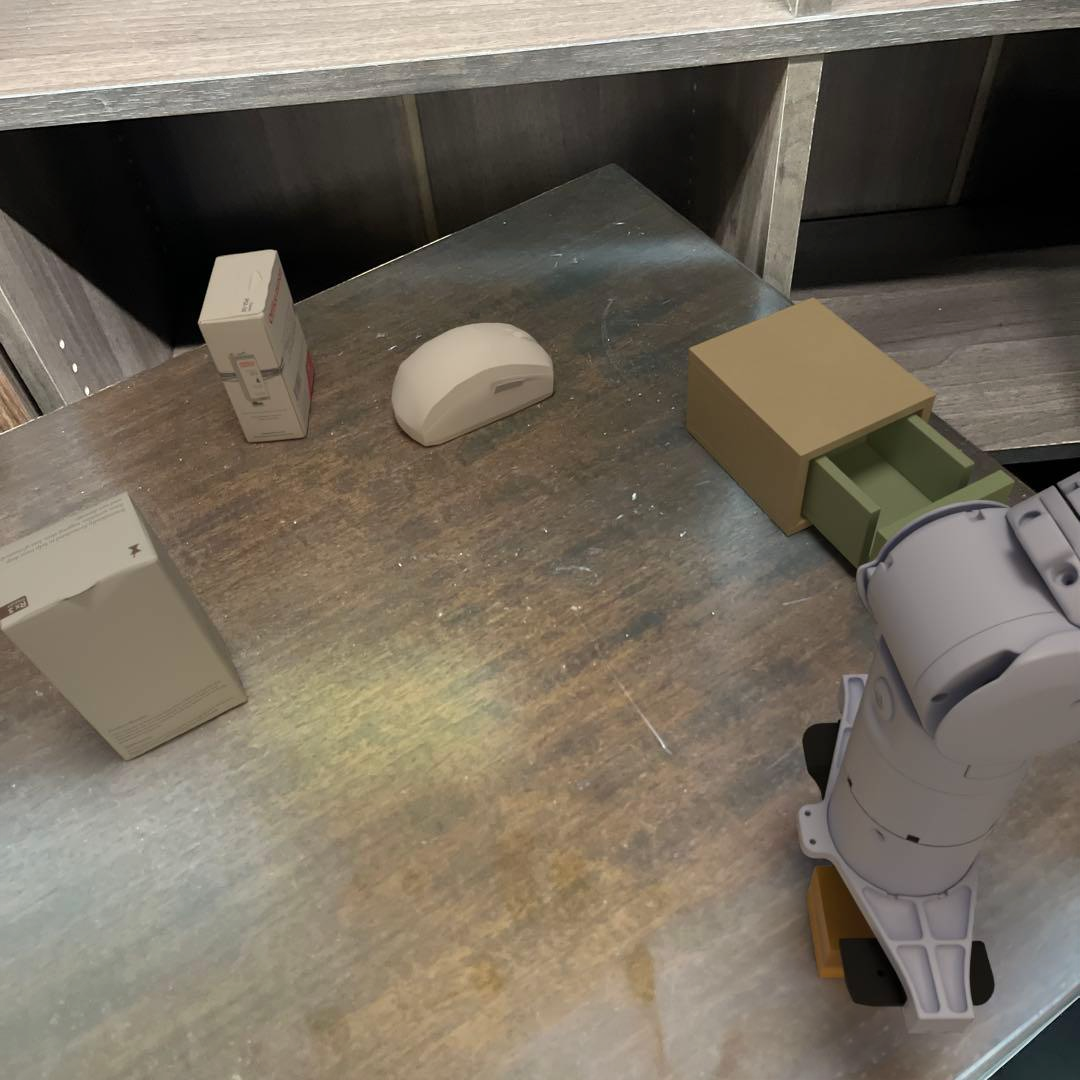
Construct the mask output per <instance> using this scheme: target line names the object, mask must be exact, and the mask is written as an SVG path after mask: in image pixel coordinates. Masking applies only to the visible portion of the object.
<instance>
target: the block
mask: <svg viewBox="0 0 1080 1080" xmlns="http://www.w3.org/2000/svg"><path fill="white" fill-rule="evenodd" d="M805 901H806V907H807V912H808V918H809V925H810V932H811V938H812V944H813V950H814V955H815V956H814V957H815V962H816V968H817V974H818V977H819V978H820V979H840V978H841V979H845V977H844V971H843V966H842V960H841V955H840V949H839V943H838V941H839V939H840V938H876V936H875V935H874V933H873V931H872V929H871V928H870V926H869V924H868V922H867V921H866V919H865V917H864V915H863V914H862V912H861V910H860V909H859V907H858V905H857V903H856V902H855V900H854V898H853V896H852V895H851V893H850V891H849V889H848V888H847V886H846V884H845V882H844V881H843V879H842V877H841V876H840V874H839V872H838V870H837V869H836V867H835V865H816V866H815V867H814V870H813V873H812V876H811V880H810V883H809V886H808V889H807V892H806V896H805Z"/></svg>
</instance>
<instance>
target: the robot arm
mask: <svg viewBox="0 0 1080 1080" xmlns="http://www.w3.org/2000/svg"><path fill="white" fill-rule="evenodd" d="M1056 486H1057V488H1058V489H1057V488H1056ZM1056 486H1054V485H1051V486H1049V487H1048V488H1045V489H1043V490H1042V491H1040V492H1038V493H1036V494H1034V495H1032V496H1030V497H1028V498H1025V499H1024V500H1022V501H1019V502H1018V503H1017V504H1015V505H1013V506H1012V507H1010V506H1009V505H1007V504H1006V505H1005V504H1002V503H999V502H995V501H988V500H971V501H967V502H958V503H953V504H949V505H946V506H943V507H940V508H937V509H934V510H932V511H930V512H927V513H925V514H923V515H921V516H919V517H918V518H916V519H914V520H913V521H911V522H909V523H908V524H906V525H905V526H904V527H902V528H901V529H900V530H898V531H897V532H896V533H895V534H894V535H893V536H892V537H891V538H890V539H889V540H888V541H887V542H886V543H885V545H884V546H883V547H882V549H881V550H880V552H879V554H878V556H877V557H876V559H874V560H873V561H872V562H869V563H866V564H864V565H861V566H860V567H859V568H858V569H857V568H856V569H857V570H856V573H855V574H856V575H855V584H856V589H857V592H858V594H859V596H860V599H861V601H862V603H863V605H864V606H865V607H864V608H866V610H867V611H868V612H869V613H870V614H871V615H872V616H874V619H875V620H876V622H877V624H876V628H875V631H874V635H873V636H874V639H875V641H876V643H877V645H876V647H875V652H874V655H873V658H872V661H871V665H870V667H869V672H868V673H848V674H847V673H846V674H842V675H841V680H840V682H839V686H838V690H837V694H836V702H837V706H838V707H837V708H838V711H839V713H840V714H841V717H840V718H839V719H837V722H818V723H814V724H812V725H810V726H808V727H807V728H806V729H805V730H804V732H803V735H802V738H801V745H802V750H803V754H804V760H805V766H806V771H807V773H808V775H809V776H810V777H811V779H812V780H813V781H814V782H815V784H816V786H817V788H818V789H819V791H820V795H821V796H820V797H821V801H819V802H817V803H806V804H803V805H801V806H800V807H799V808H798V810H797V814H796V820H795V822H796V828H797V835H798V841H799V845H800V849H801V851H802V853H803V854H804V855H805V856H807V857H808V858H811V859H826V860H828V861H830V862H831V863H832V864H833V866H835V867H836V869H837V870H838V872H839V874H840V876H841V877H842V879H843V881H844V882H845V884H846V886H847V888H848V889H849V891H850V893H851V895H852V896H853V898H854V900H855V902H856V903H857V905H858V907H859V909H860V910H861V912H862V914H863V915H864V917H865V919H866V921H867V922H868V924H869V926H870V928H871V929H872V931H873V933H874V935H875V936H876V938H840V939H839V941H838V943H839V949H840V955H841V960H842V966H843V971H844V977H845V978H844V982H845V986H846V988H847V991H848V994H849V996H850V999H851V1000H852V1002H853V1003H854V1004H856V1005H860V1006H864V1007H870V1008H871V1007H872V1008H890V1007H891V1008H894V1007H895V1008H896V1007H897V1008H898V1007H900V1008H902V1011H903V1017H904V1021H905V1025H906V1026H905V1027H906V1031H907V1033H909V1034H930V1035H931V1034H932V1035H933V1034H962V1033H964V1031H965V1030H966V1029H967V1028H968V1027H969V1025H971V1023H972V1022H973V1021H974V1020H975V1019H976V1013H975V1008H974V1007H977V1006H983V1005H985V1004H987V1002H989V1000H990V999H991V998H992V996H993V994H994V992H995V987H996V984H995V983H996V982H995V977H994V972H993V969H992V965H991V962H990V957H989V955H988V950H987V947H986V944H985V942H984V941H982V940H973V937H974V925H975V917H976V904H977V898H978V897H977V895H978V885H979V875H980V866H981V855H982V848H983V846H984V844H986V841H987V840H988V838H989V837H990V835H991V834H992V832H993V831H994V829H995V827H996V825H997V824H998V822H999V820H1000V819H1001V817H1002V816H1003V814H1004V812H1005V810H1006V809H1007V807H1008V806H1009V804H1010V802H1011V801H1012V798H1013V797H1014V795H1015V793H1017V791H1018V789H1019V787H1020V786H1021V784H1022V782H1023V781H1024V780H1025V777H1026V776H1027V774H1028V772H1029V771H1030V769H1031V768H1032V766H1033V765H1034V763H1035V761H1036V759H1037V758H1038V757H1041V756H1044V755H1046V754H1050V753H1053V752H1055V751H1058V750H1060V749H1063V748H1065V747H1068V746H1072V745H1074V744H1077V743H1079V742H1080V471H1077V472H1076V473H1073V474H1072V475H1070V476H1067V477H1066V478H1064V479H1062V480H1060V481H1058V482H1057V483H1056ZM1059 491H1060V492H1059Z"/></svg>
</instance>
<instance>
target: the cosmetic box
mask: <svg viewBox="0 0 1080 1080" xmlns="http://www.w3.org/2000/svg"><path fill="white" fill-rule="evenodd" d="M0 630H1V631H2V633H3V634H4V635H5V636H6V637H7V638H8V639H9V641H11V642H12V643H13V644H14V645H15V646H16V647H17V648H18V649H19V650H20V652H21V653H22V654H23V655H24V656H25V657H26V658H27V659H28V660H29V661H30V662H31V663H32V664H33V666H35V667H36V668H37V670H39V671H40V672H41V674H42V675H43V676H45V678H46V679H47V680H48V681H49V682H50V683H51V684H52V685H53V686H54V687H55V688H56V690H57V691H58V692H59V693H60V694H61V695H62V696H63V697H64V698H65V699H66V700H67V701H68V702H69V703H70V704H71V705H72V706H73V708H75V710H77V712H79V713H80V714H81V716H82V717H83V718H84V719H85V720H86V721H87V722H88V723H89V724H90V726H92V727H93V728H94V729H95V730H96V731H97V732H98V733H99V734H100V735H101V737H102V738H104V740H105V741H106V742H107V743H108V744H109V745H110V746H111V747H112V748H113V750H115V751H116V753H118V754H119V755H120V757H121V758H122V759H123V760H124V761H125V762H128V761H130V760H133V759H134V758H135V759H136V758H137V757H139V756H141V755H142V754H144V753H147V752H149V751H150V750H152V749H154V748H156V747H158V746H161V745H162V744H163V743H166V742H167V741H170V740H172V739H174V738H176V737H177V736H180V735H182V734H184V733H186V732H188V731H190V730H192V729H194V728H195V727H198V726H200V725H202V724H203V723H206V722H208V721H209V720H212V719H213V718H215V717H217V716H219V715H221V714H223V713H225V712H227V711H229V710H230V709H232V708H235V707H236V706H239V705H241V704H243V703H245V702H247V701H248V696H247V693H246V689H245V688H244V686H243V683H242V680H241V679H240V678H241V677H240V676H239V674H238V671H237V668H236V666H235V664H234V662H233V660H232V657H231V655H230V653H229V650H228V648H227V646H226V642H225V641H224V638H223V636H222V634H221V633H220V631H219V629H218V628H217V626H216V625H215V623H214V621H213V620H212V618H211V617H210V615H209V614H208V612H207V610H206V609H205V608H204V606H203V604H202V603H201V602H200V600H199V598H198V597H197V595H196V594H195V592H194V591H193V590H192V588H191V586H190V585H189V583H188V582H187V580H186V578H185V577H184V576H183V574H182V572H181V571H180V569H179V568H178V566H177V564H176V563H175V561H174V560H173V558H172V557H171V555H170V554H169V552H168V550H167V548H166V547H165V546H164V544H163V543H162V541H161V540H160V537H158V535H157V534H156V532H155V530H154V529H153V527H152V526H151V524H150V523H149V520H148V519H147V518H146V517H145V515H144V514H143V512H142V511H141V508H139V506H138V504H137V503H136V502H135V500H134V498H133V497H132V496H131V495H130V493H129V492H128V491H123V492H122V493H119V494H117V495H114V496H111V497H110V498H108V499H106V500H103V501H101V502H99V503H96V504H95V505H92V506H90V507H88V508H86V509H84V510H82V511H80V512H79V511H78V512H77V513H75V514H73V515H70V516H68V517H66V518H64V519H61V520H59V521H56V522H55V523H52V524H50V525H48V526H46V527H43V528H41V529H39V530H37V531H35V532H32V533H30V534H28V535H26V536H23V537H21V538H19V539H16V540H14V541H12V542H10V543H8V544H5V545H3V546H0Z"/></svg>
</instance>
